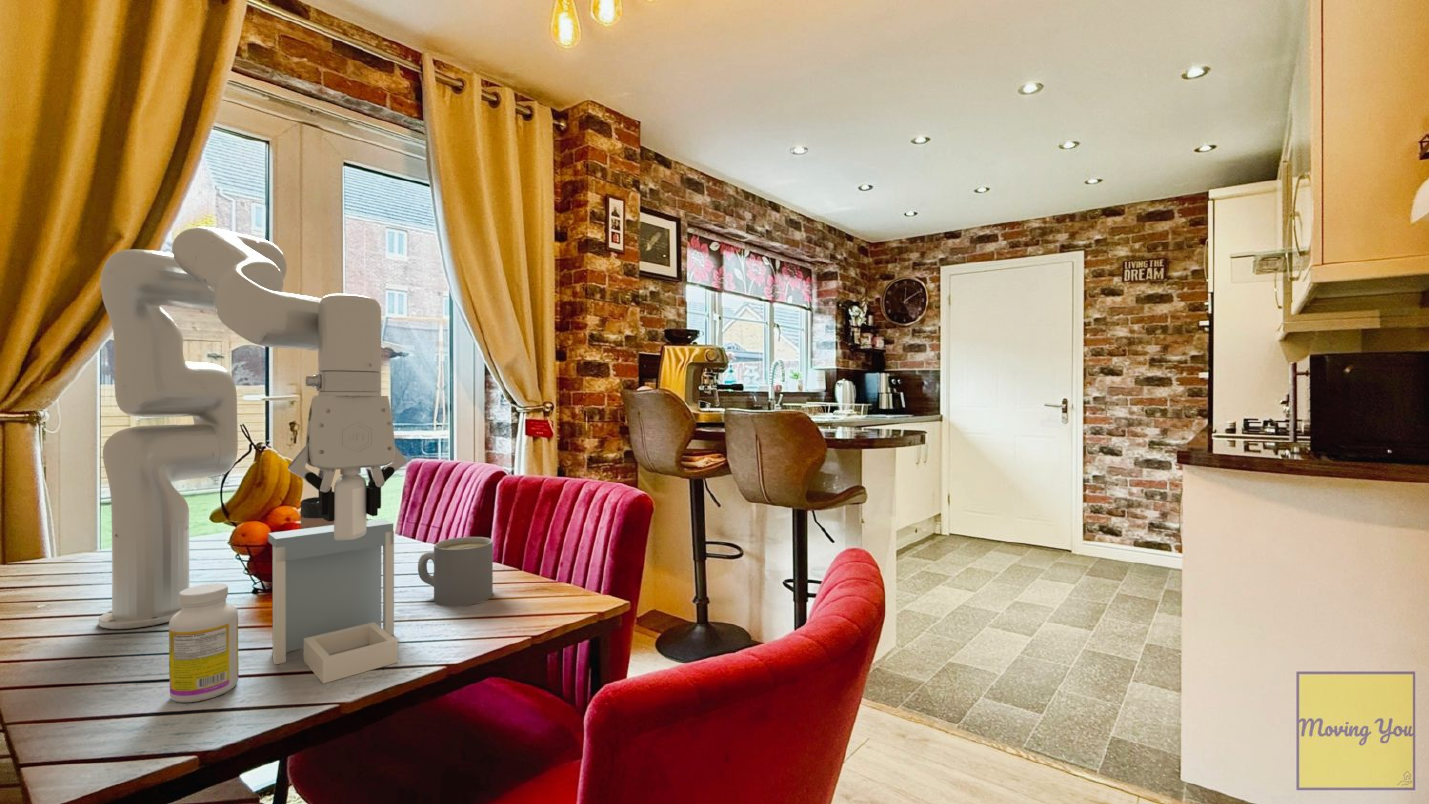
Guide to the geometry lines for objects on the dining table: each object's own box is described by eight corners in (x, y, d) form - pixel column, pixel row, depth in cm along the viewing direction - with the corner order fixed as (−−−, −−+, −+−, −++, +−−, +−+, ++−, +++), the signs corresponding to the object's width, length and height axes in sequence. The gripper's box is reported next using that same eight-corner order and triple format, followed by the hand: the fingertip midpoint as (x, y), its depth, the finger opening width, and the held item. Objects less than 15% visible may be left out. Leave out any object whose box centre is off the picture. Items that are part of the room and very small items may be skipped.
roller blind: (267, 653, 88) (267, 533, 88) (383, 625, 99) (383, 518, 99) (275, 664, 85) (274, 539, 85) (394, 634, 96) (393, 523, 96)
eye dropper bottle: (379, 533, 88) (379, 448, 88) (345, 542, 82) (344, 452, 82) (356, 531, 89) (355, 447, 89) (320, 539, 84) (319, 451, 84)
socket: (303, 660, 86) (303, 638, 86) (374, 642, 93) (374, 622, 93) (322, 683, 79) (322, 660, 79) (397, 662, 86) (397, 640, 86)
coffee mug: (503, 591, 117) (503, 538, 117) (468, 609, 107) (468, 551, 107) (444, 585, 121) (444, 534, 121) (405, 601, 111) (405, 545, 111)
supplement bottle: (196, 680, 80) (196, 581, 80) (250, 678, 81) (250, 580, 81) (154, 706, 73) (153, 597, 73) (213, 704, 74) (213, 596, 74)
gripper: (283, 384, 77) (283, 530, 77) (424, 386, 89) (424, 513, 89) (270, 384, 82) (270, 522, 82) (405, 386, 94) (405, 506, 95)
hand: (350, 515), depth 86 cm, fingers closed on eye dropper bottle, 4 cm apart
